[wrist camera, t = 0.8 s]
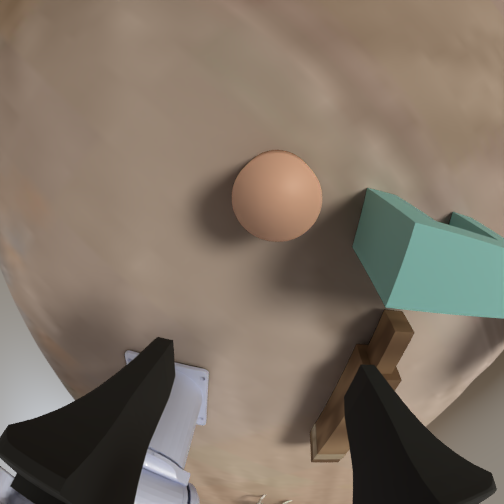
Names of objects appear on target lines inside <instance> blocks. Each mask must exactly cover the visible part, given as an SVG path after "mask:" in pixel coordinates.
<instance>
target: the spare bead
mask: <svg viewBox="0 0 504 504" xmlns="http://www.w3.org/2000/svg"><path fill="white" fill-rule="evenodd" d="M232 206H233V210H234V213H235V215H236V217H237V219H238V221H239V222H240V224H241V225H242V226H243V227H244V228H245V229H246V230H247V231H248V232H249V233H251V234H252V235H254V236H256V237H258V238H260V239H263V240H267V241H273V242H282V241H288V240H292V239H294V238H297V237H299V236H301V235H302V234H304V233H305V232H306V231H308V230H309V229H310V228H311V227H312V225H313V224H314V223H315V221H316V220H317V218H318V216H319V213H320V210H321V206H322V191H321V187H320V184H319V181H318V179H317V177H316V175H315V174H314V173H313V171H312V170H311V169H310V168H309V167H308V165H307V164H306V163H305V162H304V161H303V160H302V159H301V158H299V157H298V156H296V155H295V154H293V153H290V152H287V151H283V150H271V151H267V152H263V153H261V154H259V155H258V156H256V157H255V158H253V159H252V160H251V161H250V162H249V163H248V164H247V165H246V166H245V167H244V168H243V169H242V170H241V172H240V173H239V175H238V176H237V178H236V180H235V182H234V185H233V189H232Z"/></svg>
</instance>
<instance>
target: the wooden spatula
mask: <svg viewBox="0 0 504 504" xmlns="http://www.w3.org/2000/svg"><path fill="white" fill-rule="evenodd" d="M413 334H414V331H413V329H412V327H411V326H410V324H409V322H408V320H407V319H406V317H405V315H404V313H403V312H402V311H394V310H385V309H384V312H383V314H382V317H381V319H380V321H379V323H378V326H377V328H376V330H375V332H374V335H373V337H372V339H371V341H370V343H369V345H361V344H356V346H355V349H354V351H353V353H352V355H351V357H350V359H349V361H348V363H347V366H346V368H345V370H344V372H343V374H342V376H341V378H340V380H339V382H338V384H337V386H336V387H335V389H334V391H333V393H332V395H331V397H330V399H329V401H328V402H327V404H326V406H325V408H324V410H323V411H322V413H321V415H320V417H319V418H318V420H317V422H316V423H315V424H314V426H313V428H312V430H311V432H310V444H311V462H339V461H340V459H342V458H343V457H344V456H345V455H346V453H347V452H348V450H349V449H350V447H349V441H348V435H347V429H346V423H345V413H344V396H345V394H346V392H347V390H348V388H349V386H350V384H351V382H352V381H353V379H354V377H355V375H356V373H357V371H358V369H359V367H360V365H361V364H363V365H375V366H376V368H377V369H378V370H379V371H380V373H381V374H382V375H383V376H384V378H385V379H386V380H387V382H388V383H389V384H390V386H391V387H392V388H393V390H394V391H395V389H396V388H397V386H398V385H399V383H400V382H401V378H400V375H399V372H398V370H397V367H396V365H397V364H398V362H399V360H400V358H401V357H402V355H403V353H404V351H405V349H406V348H407V346H408V344H409V342H410V340H411V338H412V336H413Z"/></svg>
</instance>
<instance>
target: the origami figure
mask: <svg viewBox="0 0 504 504" xmlns="http://www.w3.org/2000/svg"><path fill="white" fill-rule="evenodd" d="M265 496H266V495H263V496H262V497H261V498H260V500H259V501H258V502H257V504H263V503H261V501H262V499H263V498H264V497H265ZM291 501H292V500H289V501H286V502H284V503H282V504H286V503H288V502H291Z"/></svg>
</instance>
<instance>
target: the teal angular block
mask: <svg viewBox="0 0 504 504" xmlns="http://www.w3.org/2000/svg"><path fill="white" fill-rule="evenodd" d="M352 248H353V249H354V251H355V253H356V254H357V256H358V258H359V260H360V261H361V263H362V265H363V267H364V268H365V270H366V272H367V274H368V276H369V277H370V279H371V281H372V283H373V285H374V287H375V288H376V290H377V292H378V294H379V296H380V298H381V300H382V302H383V304H384V306H385V307H387V308H396V309H404V310H413V311H423V312H433V313H443V314H453V315H465V316H477V317H490V318H504V238H503V237H501V236H500V235H498V234H497V233H495V232H494V231H492V230H490V229H489V228H487V227H486V226H484V225H482V224H481V223H479V222H477V221H476V220H474V219H472V218H470V217H467V216H464V215H461V214H458V213H455V212H453V213H452V216H451V220H450V223H449V225H448V224H444V223H441V222H437V221H435V220H433V219H432V218H430V217H429V216H428V215H426V214H424V213H423V212H421V211H420V210H418V209H417V208H415V207H414V206H412V205H411V204H409V203H407V202H406V201H404V200H403V199H401V198H399V197H398V196H396V195H394V194H390V193H386V192H382V191H378V190H374V189H370V188H367V191H366V196H365V200H364V204H363V208H362V212H361V216H360V220H359V224H358V228H357V232H356V235H355V239H354V243H353V246H352Z"/></svg>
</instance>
